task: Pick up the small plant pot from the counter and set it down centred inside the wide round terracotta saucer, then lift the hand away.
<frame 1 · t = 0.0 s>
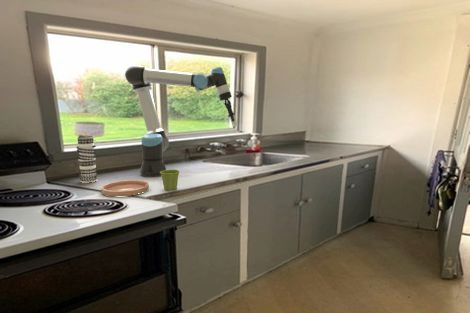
hand: (235, 125, 189), 28 cm above the worktop, tool tilted 20°, fingers open, 13 cm apart
saucer: (125, 190, 144), on the worktop
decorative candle: (88, 181, 162), on the worktop
plant pot: (170, 189, 147), on the worktop
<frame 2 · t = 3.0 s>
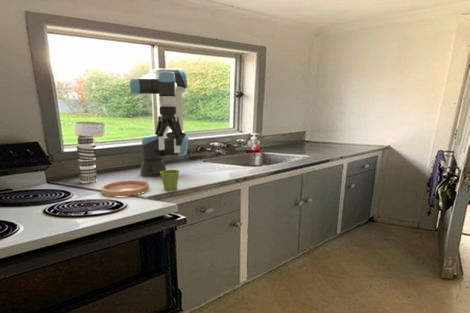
hand: (169, 151, 144), 19 cm above the worktop, tool pointing down, fingers open, 13 cm apart
nothing on the worktop moved.
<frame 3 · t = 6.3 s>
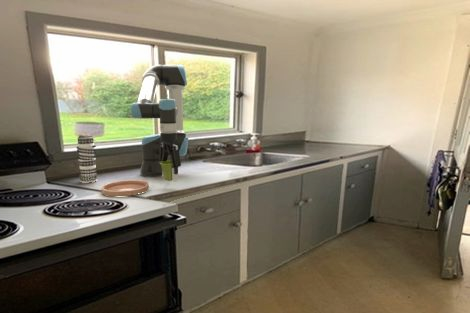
hand: (170, 178, 147), 5 cm above the worktop, tool pointing down, fingers closed on plant pot, 8 cm apart
plant pot: (170, 179, 147), point 4 cm above the worktop, touching gripper
everything else where it was.
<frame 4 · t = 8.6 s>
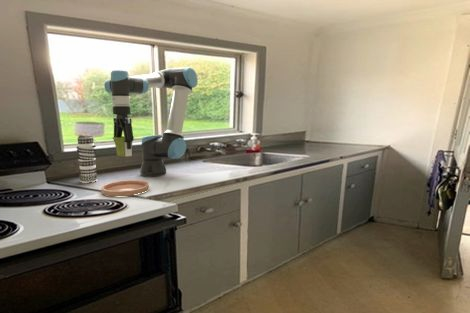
hand: (124, 154, 141), 17 cm above the worktop, tool pointing down, fingers closed on plant pot, 8 cm apart
plant pot: (124, 156, 141), point 17 cm above the worktop, touching gripper
everything else where it was.
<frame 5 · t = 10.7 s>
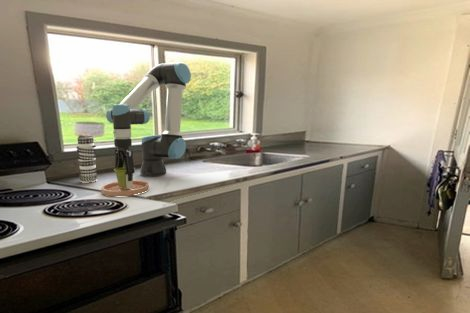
hand: (125, 185, 143), 2 cm above the worktop, tool pointing down, fingers closed on plant pot, 8 cm apart
plant pot: (125, 186, 143), point 2 cm above the worktop, touching gripper
everything else where it was.
when the fingers open (2 cm above the worktop, at t = 11.3 s): plant pot moves 4 cm, resting on saucer.
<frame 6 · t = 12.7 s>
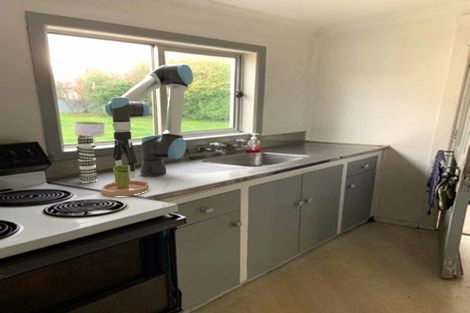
hand: (125, 175, 143), 7 cm above the worktop, tool pointing down, fingers open, 13 cm apart
plant pot: (121, 186, 146), point 2 cm above the worktop, touching gripper, saucer
everything else where it was.
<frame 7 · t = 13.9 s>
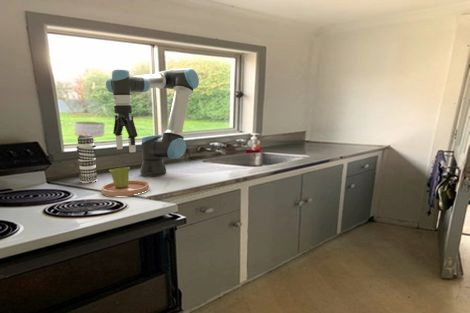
hand: (126, 150, 142), 19 cm above the worktop, tool pointing down, fingers open, 13 cm apart
plant pot: (121, 186, 146), point 1 cm above the worktop, touching saucer
everything else where it was.
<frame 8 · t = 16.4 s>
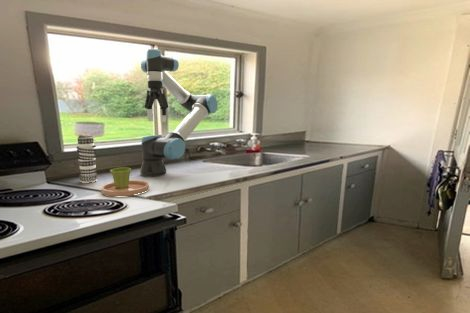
hand: (156, 121, 161), 32 cm above the worktop, tool pointing down, fingers open, 13 cm apart
at the end: plant pot inside the target area on the saucer (4.0 cm from its centre), point 0.8 cm above the saucer's base; plant pot tilted 1°; the gripper is holding nothing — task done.
